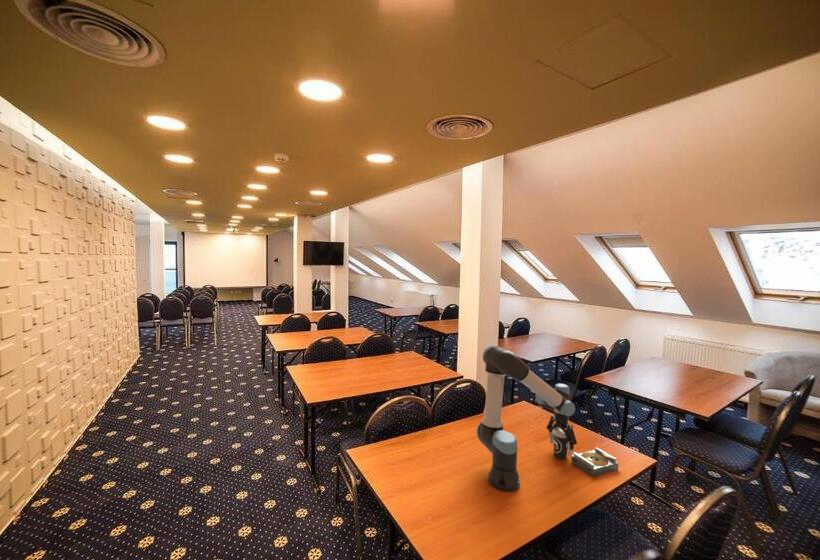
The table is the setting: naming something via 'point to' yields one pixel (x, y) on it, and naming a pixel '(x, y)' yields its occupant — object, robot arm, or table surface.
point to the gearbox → (595, 462)
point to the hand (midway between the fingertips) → (560, 448)
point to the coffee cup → (560, 443)
